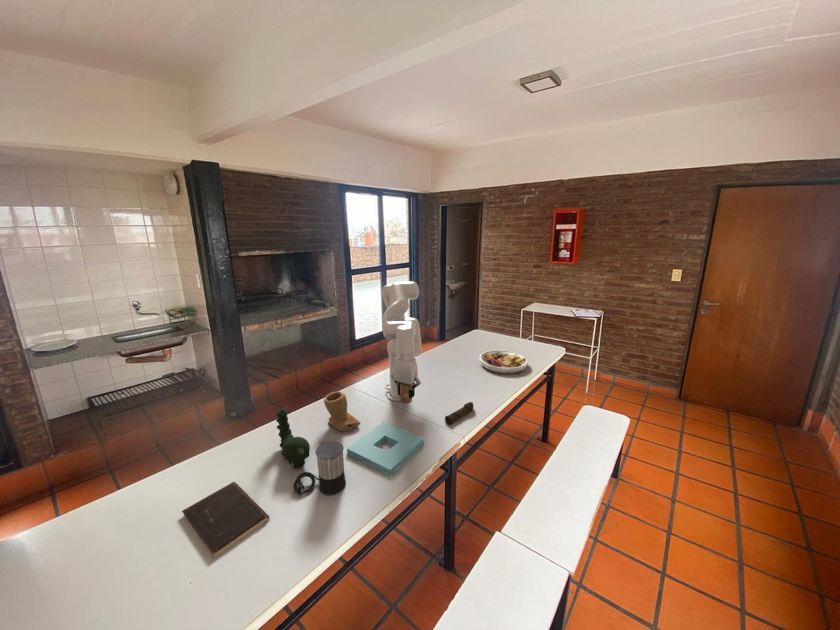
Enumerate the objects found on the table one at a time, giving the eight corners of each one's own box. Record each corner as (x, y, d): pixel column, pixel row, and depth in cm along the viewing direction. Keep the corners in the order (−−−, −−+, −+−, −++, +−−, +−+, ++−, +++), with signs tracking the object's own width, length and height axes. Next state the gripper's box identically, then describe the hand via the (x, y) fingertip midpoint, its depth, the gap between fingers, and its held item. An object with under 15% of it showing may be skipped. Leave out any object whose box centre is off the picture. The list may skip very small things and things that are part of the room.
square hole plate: (347, 453, 132) (346, 448, 131) (382, 426, 150) (382, 421, 149) (390, 475, 120) (390, 470, 120) (423, 443, 138) (423, 438, 137)
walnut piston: (398, 401, 141) (397, 384, 139) (404, 396, 145) (404, 379, 143) (407, 404, 139) (407, 386, 137) (414, 399, 143) (414, 382, 141)
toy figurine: (273, 450, 137) (292, 481, 117) (267, 408, 133) (285, 432, 113) (296, 442, 142) (318, 470, 122) (291, 400, 139) (312, 422, 119)
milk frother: (351, 486, 116) (348, 449, 112) (308, 512, 105) (303, 472, 101) (331, 465, 126) (328, 431, 122) (289, 487, 115) (285, 450, 111)
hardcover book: (213, 560, 91) (212, 553, 90) (183, 516, 104) (181, 510, 104) (270, 520, 103) (269, 514, 102) (236, 486, 116) (235, 480, 116)
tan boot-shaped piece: (321, 422, 154) (319, 392, 150) (345, 413, 161) (343, 384, 157) (337, 437, 142) (334, 406, 138) (361, 427, 150) (359, 397, 146)
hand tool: (450, 426, 150) (450, 417, 149) (444, 422, 153) (444, 413, 152) (477, 411, 162) (477, 403, 161) (471, 408, 165) (471, 399, 164)
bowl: (490, 353, 236) (491, 343, 234) (533, 363, 219) (534, 352, 217) (471, 367, 213) (471, 356, 211) (517, 380, 196) (517, 367, 194)
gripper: (383, 354, 138) (384, 394, 143) (417, 362, 129) (418, 404, 134) (394, 349, 144) (395, 387, 149) (427, 356, 136) (427, 397, 140)
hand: (406, 395), depth 141 cm, fingers closed on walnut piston, 5 cm apart
